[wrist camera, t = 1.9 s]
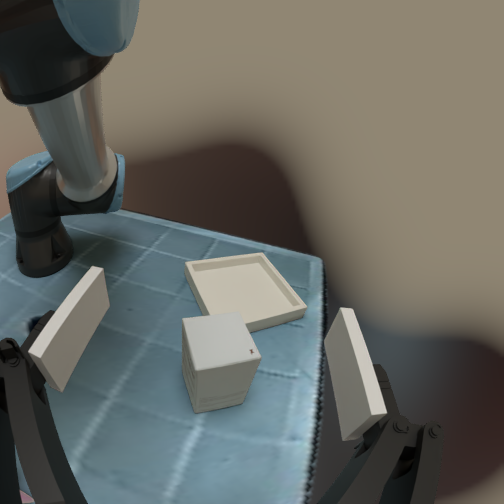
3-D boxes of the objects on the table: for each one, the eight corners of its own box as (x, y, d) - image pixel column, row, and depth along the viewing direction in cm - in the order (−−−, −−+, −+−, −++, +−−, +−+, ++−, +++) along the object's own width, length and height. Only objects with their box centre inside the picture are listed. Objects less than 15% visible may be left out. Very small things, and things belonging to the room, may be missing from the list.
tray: (184, 273, 55) (185, 262, 54) (259, 263, 64) (262, 252, 62) (215, 341, 43) (217, 330, 41) (302, 317, 51) (307, 306, 50)
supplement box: (227, 364, 40) (241, 309, 33) (243, 404, 34) (264, 358, 27) (180, 371, 37) (181, 316, 30) (192, 414, 31) (195, 370, 24)
